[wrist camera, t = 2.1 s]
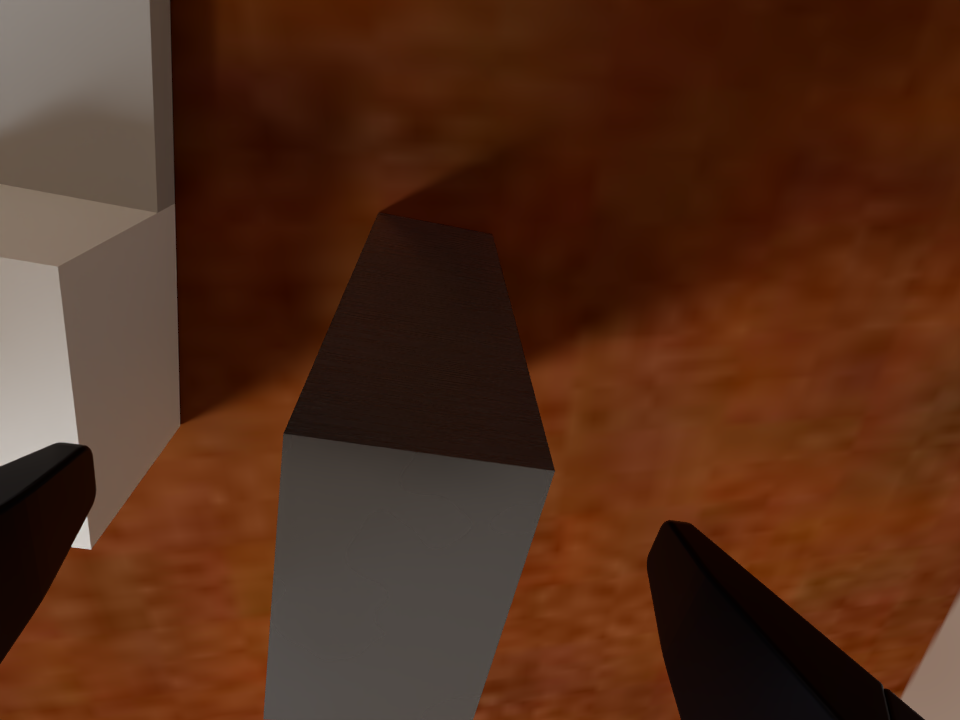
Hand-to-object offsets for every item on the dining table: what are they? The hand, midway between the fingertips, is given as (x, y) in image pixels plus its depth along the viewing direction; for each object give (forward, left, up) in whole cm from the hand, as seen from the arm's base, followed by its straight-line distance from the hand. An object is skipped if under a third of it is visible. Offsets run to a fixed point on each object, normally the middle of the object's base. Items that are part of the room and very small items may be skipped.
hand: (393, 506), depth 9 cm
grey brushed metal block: (0, 0, -8) cm, 8 cm away
